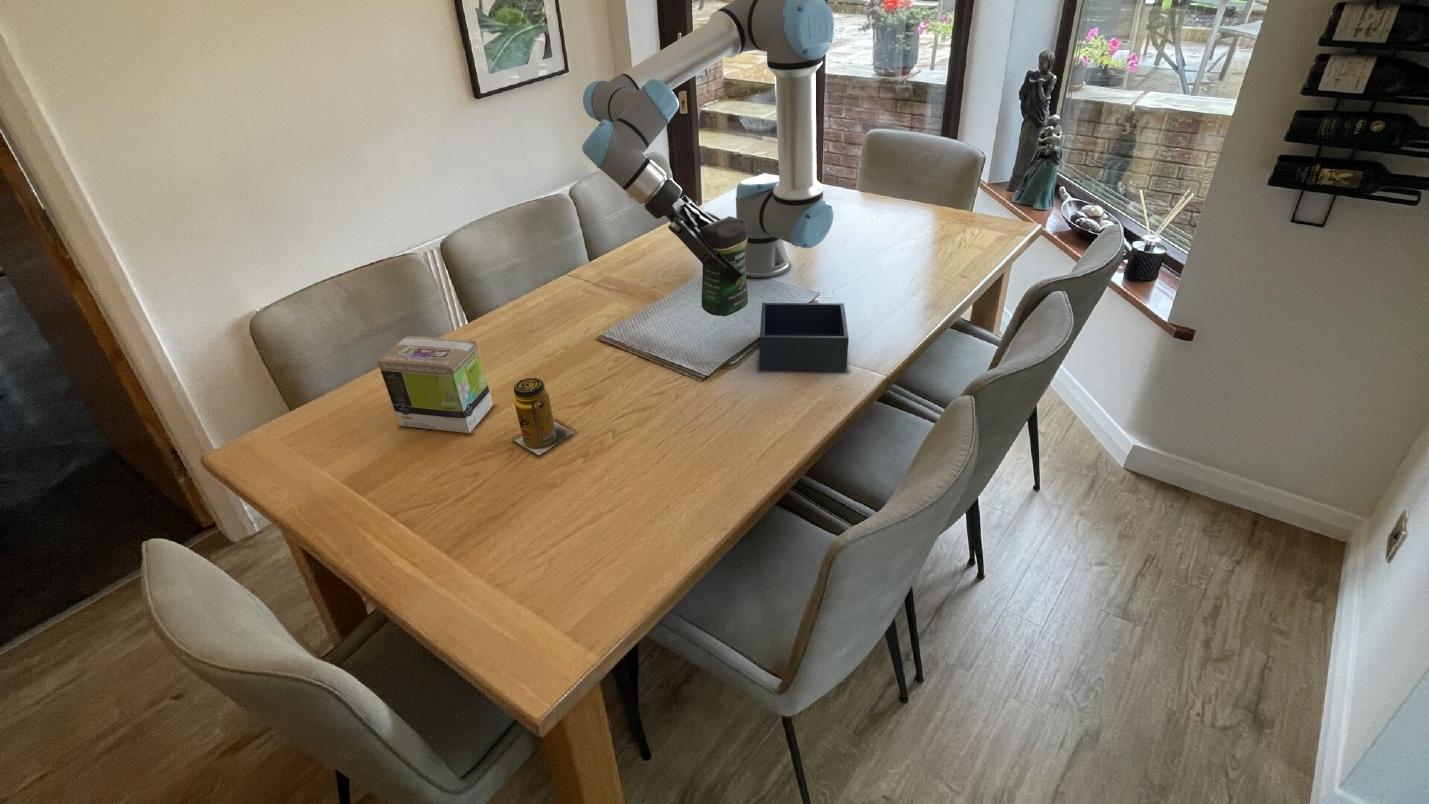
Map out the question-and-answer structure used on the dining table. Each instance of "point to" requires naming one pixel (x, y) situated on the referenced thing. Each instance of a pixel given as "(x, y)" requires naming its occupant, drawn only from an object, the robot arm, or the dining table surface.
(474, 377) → the tea box
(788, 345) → the open storage box
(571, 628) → the dining table surface
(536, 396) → the condiment
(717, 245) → the coffee jar
